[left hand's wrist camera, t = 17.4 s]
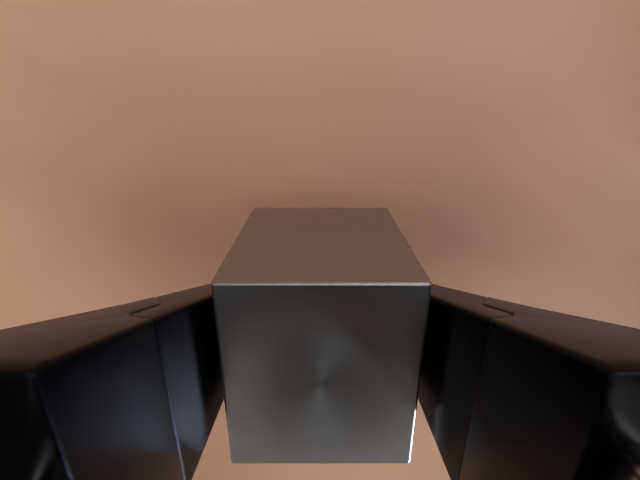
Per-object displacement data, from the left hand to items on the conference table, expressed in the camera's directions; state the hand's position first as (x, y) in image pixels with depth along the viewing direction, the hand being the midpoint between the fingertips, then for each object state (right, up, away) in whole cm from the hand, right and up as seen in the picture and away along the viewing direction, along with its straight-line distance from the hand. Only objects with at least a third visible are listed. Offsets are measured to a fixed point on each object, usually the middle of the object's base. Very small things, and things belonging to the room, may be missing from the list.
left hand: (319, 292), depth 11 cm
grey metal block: (0, 0, +1) cm, 1 cm away
